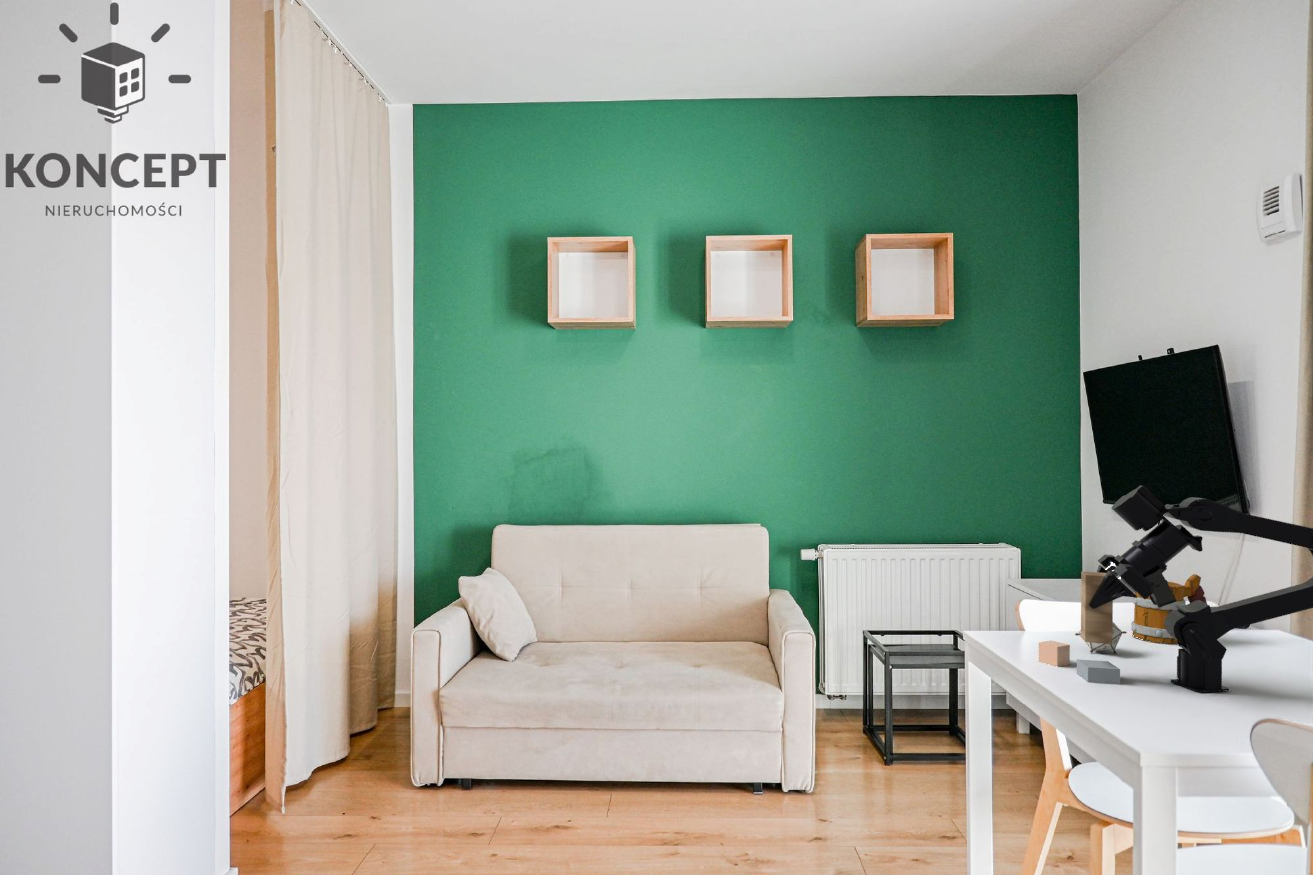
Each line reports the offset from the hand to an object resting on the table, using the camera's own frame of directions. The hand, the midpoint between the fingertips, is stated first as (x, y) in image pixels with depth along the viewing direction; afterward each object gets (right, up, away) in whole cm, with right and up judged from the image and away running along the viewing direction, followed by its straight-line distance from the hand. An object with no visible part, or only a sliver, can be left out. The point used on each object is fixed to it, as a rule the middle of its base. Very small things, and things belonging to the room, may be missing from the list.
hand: (1088, 604), depth 149 cm
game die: (+13, -14, +18) cm, 27 cm away
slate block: (+1, -14, -2) cm, 14 cm away
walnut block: (+1, -7, -1) cm, 7 cm away
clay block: (-2, -14, +9) cm, 16 cm away
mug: (+36, -15, +31) cm, 50 cm away
